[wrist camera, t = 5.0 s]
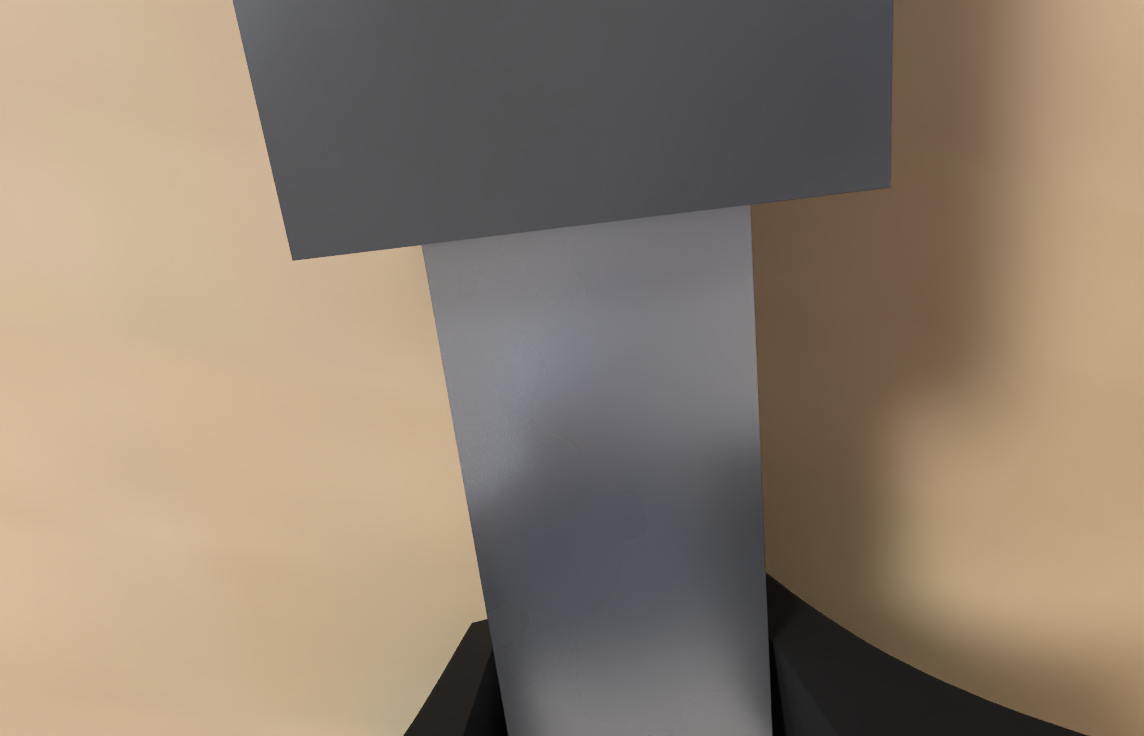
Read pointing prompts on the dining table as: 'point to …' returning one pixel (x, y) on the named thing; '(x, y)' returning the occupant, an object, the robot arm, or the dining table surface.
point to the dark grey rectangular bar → (559, 111)
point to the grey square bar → (613, 470)
